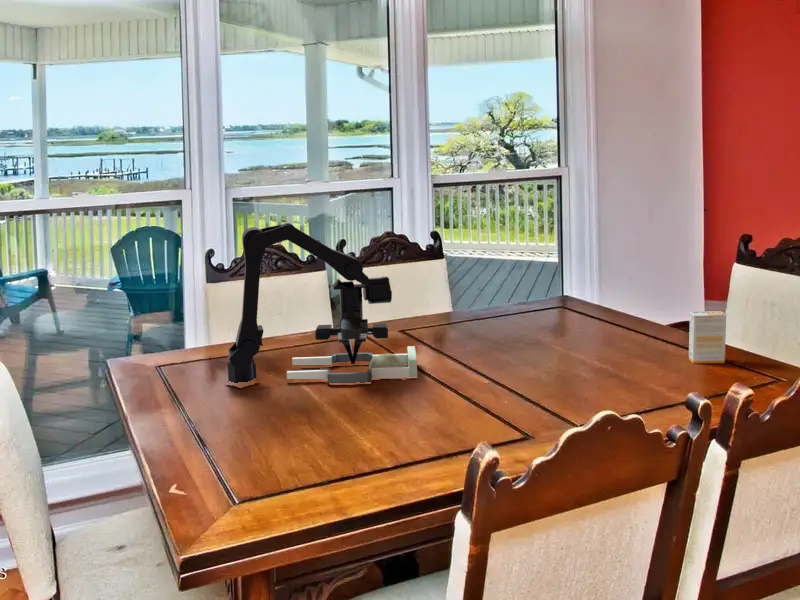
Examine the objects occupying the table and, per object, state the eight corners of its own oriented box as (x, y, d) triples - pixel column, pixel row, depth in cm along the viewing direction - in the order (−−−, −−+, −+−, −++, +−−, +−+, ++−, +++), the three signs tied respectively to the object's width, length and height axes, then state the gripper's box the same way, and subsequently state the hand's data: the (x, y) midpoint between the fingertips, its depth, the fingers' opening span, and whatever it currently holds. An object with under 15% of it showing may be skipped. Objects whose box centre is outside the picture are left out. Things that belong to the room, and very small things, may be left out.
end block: (409, 379, 211) (408, 360, 210) (407, 364, 224) (407, 346, 223) (417, 378, 211) (416, 359, 210) (415, 364, 224) (414, 346, 224)
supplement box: (719, 358, 220) (721, 310, 217) (725, 363, 215) (727, 314, 213) (687, 359, 221) (689, 311, 218) (692, 364, 216) (694, 314, 213)
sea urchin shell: (408, 369, 213) (385, 349, 212) (387, 391, 214) (364, 371, 213) (408, 360, 222) (386, 340, 221) (388, 381, 223) (366, 361, 222)
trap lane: (285, 387, 207) (285, 376, 206) (294, 365, 227) (293, 355, 226) (409, 383, 207) (409, 371, 207) (407, 361, 227) (407, 351, 226)
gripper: (312, 312, 206) (314, 373, 209) (387, 310, 206) (388, 371, 209) (316, 303, 217) (318, 361, 220) (387, 302, 217) (388, 359, 220)
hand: (353, 363), depth 217 cm, fingers closed
